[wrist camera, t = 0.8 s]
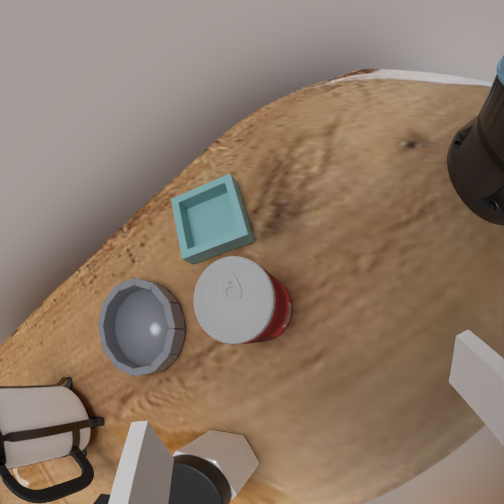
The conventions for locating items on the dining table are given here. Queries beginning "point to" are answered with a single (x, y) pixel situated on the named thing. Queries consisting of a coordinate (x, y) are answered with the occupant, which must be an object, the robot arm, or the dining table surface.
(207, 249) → the square tray
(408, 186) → the dining table surface
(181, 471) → the jar
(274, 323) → the canned food
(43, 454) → the coffee press
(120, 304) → the round gray bowl
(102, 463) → the dining table surface
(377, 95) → the dining table surface
